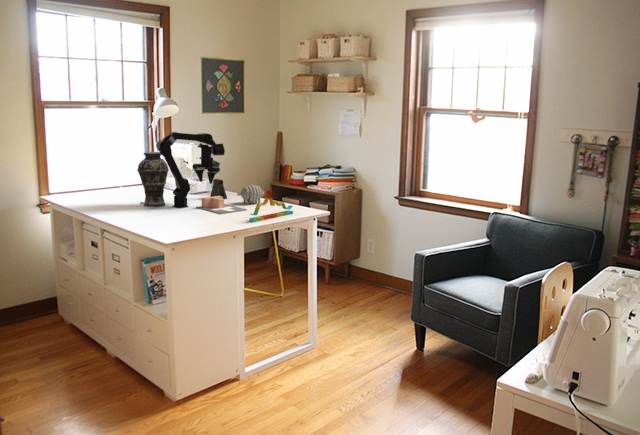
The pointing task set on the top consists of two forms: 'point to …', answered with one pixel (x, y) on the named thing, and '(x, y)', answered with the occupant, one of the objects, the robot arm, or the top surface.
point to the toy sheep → (251, 194)
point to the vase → (153, 178)
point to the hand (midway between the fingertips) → (205, 182)
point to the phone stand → (218, 189)
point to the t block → (213, 202)
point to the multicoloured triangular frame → (272, 203)
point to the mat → (223, 209)
